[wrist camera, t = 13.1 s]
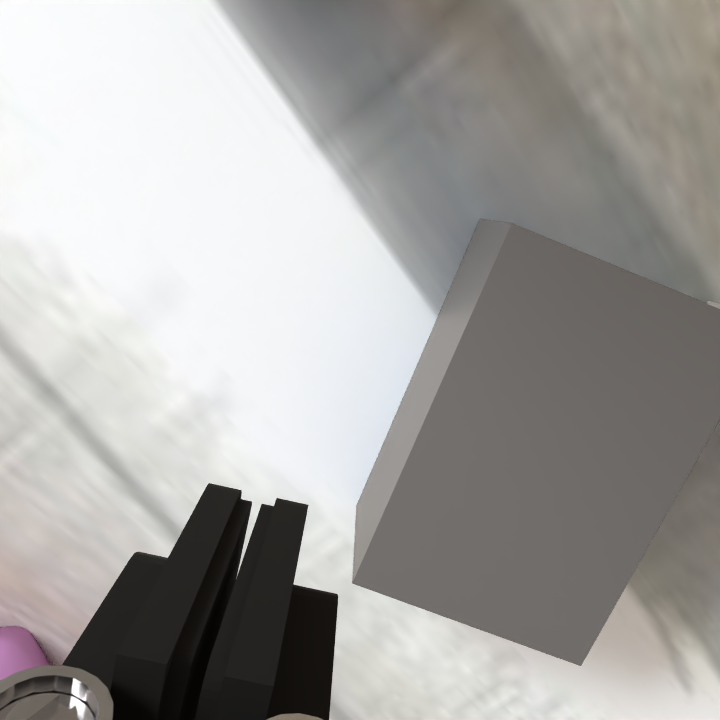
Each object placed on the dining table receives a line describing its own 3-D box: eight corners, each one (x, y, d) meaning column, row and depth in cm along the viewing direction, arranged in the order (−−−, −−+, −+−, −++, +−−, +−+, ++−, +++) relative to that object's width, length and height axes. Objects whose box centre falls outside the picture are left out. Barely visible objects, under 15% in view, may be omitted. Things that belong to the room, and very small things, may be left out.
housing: (480, 218, 34) (511, 223, 26) (681, 301, 35) (770, 329, 27) (356, 505, 38) (352, 583, 30) (539, 573, 39) (580, 666, 31)
